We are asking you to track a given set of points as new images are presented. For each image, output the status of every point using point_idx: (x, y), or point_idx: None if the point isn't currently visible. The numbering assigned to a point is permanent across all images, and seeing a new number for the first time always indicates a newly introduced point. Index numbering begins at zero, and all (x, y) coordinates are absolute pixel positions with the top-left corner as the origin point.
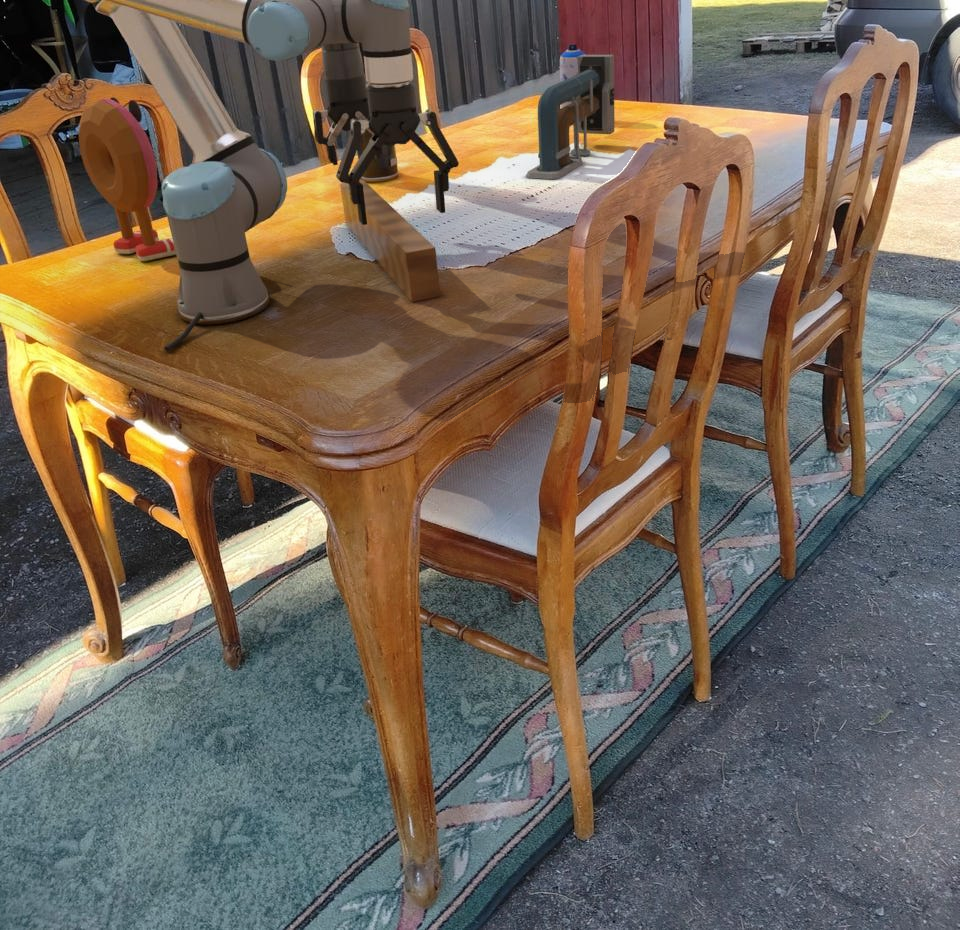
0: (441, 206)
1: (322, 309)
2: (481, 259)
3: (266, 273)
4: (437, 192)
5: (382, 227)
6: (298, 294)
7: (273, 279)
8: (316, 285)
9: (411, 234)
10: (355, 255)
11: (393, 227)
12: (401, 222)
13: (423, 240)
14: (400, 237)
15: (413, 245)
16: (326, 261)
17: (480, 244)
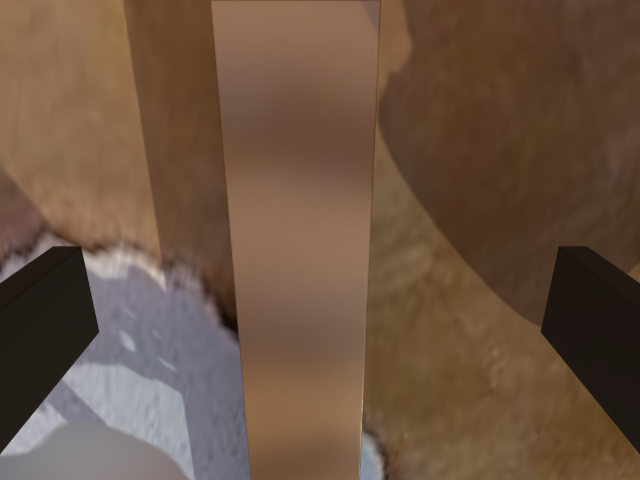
0: (52, 265)
1: (630, 121)
2: None
3: (623, 460)
4: (20, 362)
5: (361, 419)
6: None
7: None
8: None
9: (274, 277)
10: (382, 477)
11: (320, 399)
12: (273, 439)
13: (243, 159)
14: (332, 262)
15: (311, 105)
16: (462, 470)
17: None
